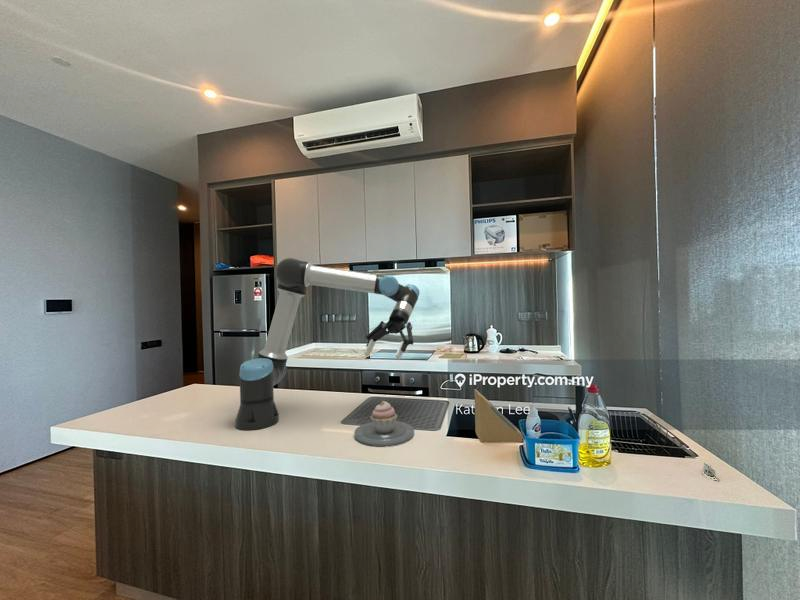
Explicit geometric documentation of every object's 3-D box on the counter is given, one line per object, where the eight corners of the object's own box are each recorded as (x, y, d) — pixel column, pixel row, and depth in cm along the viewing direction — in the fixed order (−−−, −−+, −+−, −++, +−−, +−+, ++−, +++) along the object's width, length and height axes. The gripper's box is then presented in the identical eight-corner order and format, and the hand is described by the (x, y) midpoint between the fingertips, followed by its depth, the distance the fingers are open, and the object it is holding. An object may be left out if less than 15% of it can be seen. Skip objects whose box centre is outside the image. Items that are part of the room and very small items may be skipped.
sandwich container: (530, 442, 105) (529, 394, 105) (480, 443, 105) (479, 395, 105) (521, 432, 113) (520, 387, 114) (475, 432, 114) (474, 388, 114)
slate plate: (342, 435, 113) (342, 431, 113) (384, 419, 128) (384, 416, 128) (383, 452, 100) (383, 448, 100) (426, 432, 114) (426, 428, 114)
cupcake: (365, 429, 115) (364, 399, 115) (388, 423, 120) (388, 395, 121) (379, 438, 108) (378, 406, 108) (403, 431, 113) (402, 401, 113)
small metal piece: (693, 470, 86) (693, 458, 86) (704, 472, 85) (704, 460, 85) (706, 482, 80) (706, 469, 80) (718, 483, 80) (718, 470, 80)
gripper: (431, 321, 135) (414, 365, 122) (378, 320, 147) (358, 359, 134) (425, 308, 131) (408, 352, 117) (371, 308, 143) (350, 347, 129)
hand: (381, 356), depth 126 cm, fingers open, 13 cm apart
